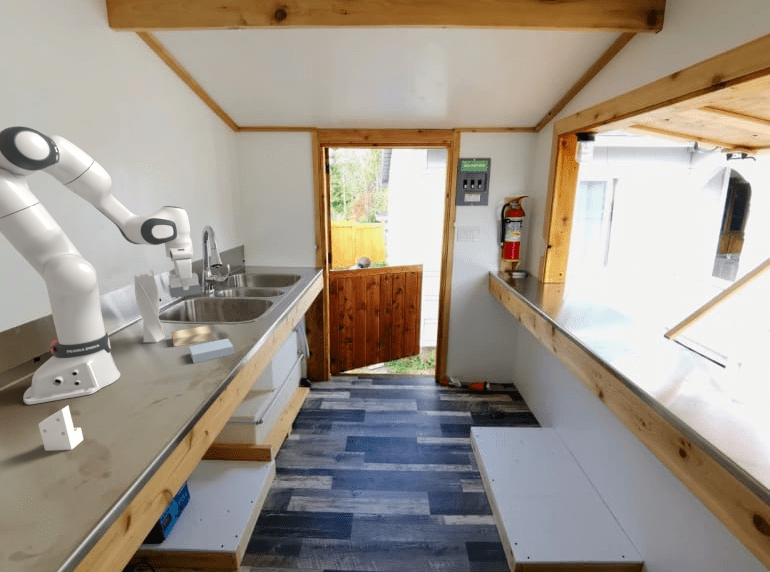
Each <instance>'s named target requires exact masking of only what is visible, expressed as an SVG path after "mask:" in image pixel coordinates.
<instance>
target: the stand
mask: <svg viewBox="0 0 770 572" xmlns="http://www.w3.org/2000/svg"><path fill="white" fill-rule="evenodd" d="M188 348H189V350H188V351H189V355H190V357H191V360H192V362H193V364H198V363H201V362H206V360H207V361H211V360H215V359H220V358H224V357H227V356H228V355H229V356H233V355H235V347H234V345H233V343H232V342H231V341H230V339H229V338H224V339H218V340H214V341H209V342H204V343H199V344H195V345H190V346H188ZM232 354H233V355H232ZM223 356H224V357H223ZM219 357H220V358H219ZM214 358H215V359H214ZM210 359H211V360H210Z"/></svg>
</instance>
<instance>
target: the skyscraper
mask: <svg viewBox="0 0 770 572" xmlns="http://www.w3.org/2000/svg"><path fill="white" fill-rule="evenodd" d="M133 278H134V294H135V301H136V305H137V309H138V311H139V314H140V316H141V318H142V321H143V322H142V323H143V327H142V328H143V330H142V331H143V339H142V340H141V341H139V342H140V343H143V344H144V343H146V344H150V343H151V344H153V343H154V344H157V343H159V342H161V341H163V340H164V339H167V338H168V337H169V335H165V332H164V328H163V326H162V323H161V321H160V317H159V315H160V293H159V289H158V285H157V283H156V278H155V273H154V270H153V269H150V271H149V273H141V274H139V275H135V274H134V276H133Z"/></svg>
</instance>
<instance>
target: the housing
mask: <svg viewBox="0 0 770 572" xmlns="http://www.w3.org/2000/svg"><path fill="white" fill-rule="evenodd" d="M188 287H189V289H188V290H183V286H182V280H180V278H179V277H178V275H177V274H172V275H168V289H169V290H168V291H169V296H170V297H171V298H177V297H178V298H179V297H184V296H192V295H201V294H202V290H201V289H202V288H201V284H200V283H199V275H198V274H197V273H196V272H192V278H191V279H190V280H188Z"/></svg>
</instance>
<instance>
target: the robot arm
mask: <svg viewBox="0 0 770 572" xmlns="http://www.w3.org/2000/svg"><path fill="white" fill-rule="evenodd" d="M38 171H40V172H41V171H42V172H44V173H47V174H48V175H50V176H52V177H53V178H54V179H55V180H56V181H58V182H59V183H60V184H62V185H63V186H64V187H66V188H67V189H68V190H70V191H71V192H73V193H74V194H76V195H77V196H78V197H80V198H82V199H83V200H84V201H86V202H88V203H89V204H90V205H92V206H93V207H94V208H95V209H97V211H99V212H100V213H101V214H103V216H105V217H106V218H107V219H109V220H110V222H112V223H113V224H114V225H115V226H116V227H117V228H118V230H119V232H120V234H121V235H122V237H123V238H124V239H125V240H126V242H129V243H131V244H133V245H147V246H150V245H151V246H159V245H163V244H164V246H165V253H166V254H165V255H166V257H167V258H170V261H171V262H173V266H174V267H173V268H174V271H175V273H176V274H175V275H178V277H179V278H180V280H182V286H183V290H188V289H189V287H188V280H190V279H191V278H192V273H193V272H192V268H193V267H192V259H193V257H194V256H193V255H194V248H193V240H192V238H191V225H190V221H189V220H190V219H189V216H188V212H187V211H186V210H185V209H184V208H183V207H180V206H173V205H171V206H170V205H163V206H162V207H161V208H160V209H159V210H157V211H156V212H154V213H152V214H149V215H148V216H142V215H138V214H134V213H133V212H131V211H130V210H129V209H128V208H126V206H125V205H124V204H122V203H121V202H120V201H119V200H118V199H116V198H115V196H114V195H113V194H112V191H111V190H112V186H113V180H112V176H110V174H109V173H108V172H107V171H106V170H105V169H104V167H103V166H102V165H101V164H99V163H98V162H97V161H96V160H95V159H94V158H93V157H91V156H90V155H89V154H88V153H87V152H85V151H84V150H82V149H81V148H80V147H79V146H77V144H76V145H75V144H74V143H73V142H71V141H69V140H68V139H66V138H64V137H63V136H60V135H57V134H48V135H45V134H44V133H42V132H40V131H39V130H35V129H33V128H31V127H28V126H10V127H7V128H4V129H3V130H0V233H1V235H2V236H3V237H4V238H5V239H6V240H7V241H8V242H9V243H10V244H11V246H12V247H13V248H14V249H15V250H16V251H17V252H18V253H19V254H20V255H21V256H22V257H23V258H24V260H25V261H27V262H28V264H30V266H31V267H32V268H33V269H34V270H35V271H36V273H38V275H40V277H41V278H42V279H43V281H45V285H46V289H47V294H48V298H49V304H50V308H51V315H52V318H53V324H54V328H55V333H56V336H57V339H54V340H52V341H51V342H50V352H51V355H52V356H51V357H50V358H48V359H47V360H46V361H45V362H44V363H43V364H41V366H39V367H38V368H37V369H36V370H35V372H34V373H33V376H32V379H31V385H30V386H29V387H28V388H27V389H26V391H24V394H23V396H22V397H23V398H22V399H23V402H24V404H25V405H28V406H29V405H35V404H42V403H47V402H48V403H49V402H53V401H59V400H65V399H66V400H67V399H69V398H78V397H83V396H88V395H92V394H94V393H96V392H97V391H99V390H101V389H102V388H105V387H107V386H109V385H111V384H113V383H114V382H116V381H117V380H119V378H120V377H121V376H122V375H121V371H119V369H118V368H117V366H116V363H115V361H114V358H113V356H112V353H111V350H112V349H111V348H112V347H111V341H110V337H109V335H108V332H106V329H105V323H104V319H103V318H104V317H103V313H102V308H101V296H100V288H99V282H98V281H99V279H98V274H97V270H96V268H95V267H94V266H93V264H92V263H90V262H89V261H88V260H87V259H85V257H84V256H83V255H82V254H81V253H80V251H79V250H78V249H77V247H75V245H74V244H73V242H72V241H71V240H70V238H69V237H68V235H67V234H66V233H65V232H64V230H63V229H62V227H61V226H60V225H59V224H58V222H57V221H56V220H55V219H54V218H53V216H52V215H51V213H49V211H48V210H47V209H46V207H44V205H43V204H42V203H41V202H40V200H39V199H38V198H37V197H36V196H35V194H34V193H33V192H32V191H31V190H30V188H29V184H28V183H27V178H26V177H28V176H31V175H33V174H35V173H36V172H38Z"/></svg>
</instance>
